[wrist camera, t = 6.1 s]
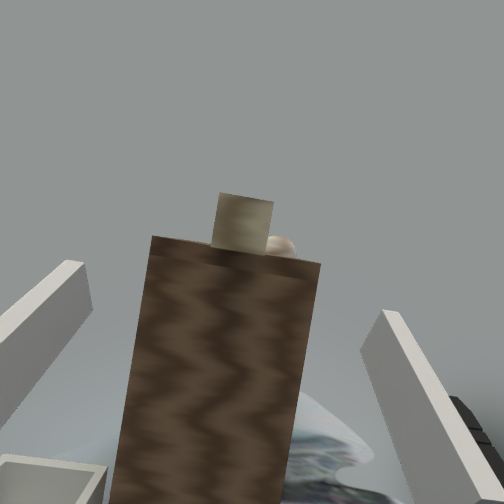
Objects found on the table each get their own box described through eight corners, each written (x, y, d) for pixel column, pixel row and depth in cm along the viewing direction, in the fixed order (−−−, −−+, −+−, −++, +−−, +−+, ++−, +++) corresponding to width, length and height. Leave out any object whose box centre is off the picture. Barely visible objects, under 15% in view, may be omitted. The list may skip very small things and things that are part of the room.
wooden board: (210, 246, 20) (219, 192, 20) (225, 246, 43) (229, 221, 43) (264, 255, 20) (273, 201, 20) (250, 250, 43) (254, 225, 43)
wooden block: (100, 554, 29) (156, 207, 29) (149, 445, 45) (186, 221, 45) (268, 572, 30) (325, 235, 30) (258, 459, 46) (294, 239, 46)
